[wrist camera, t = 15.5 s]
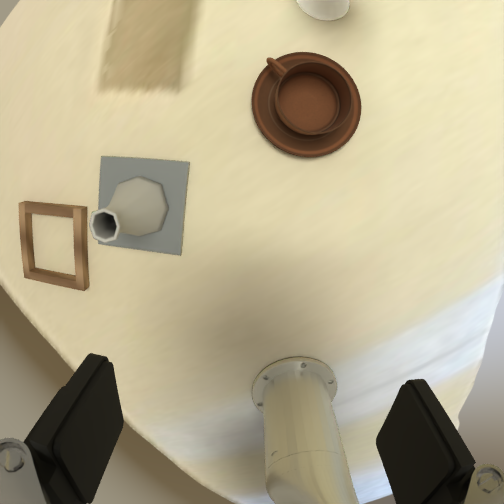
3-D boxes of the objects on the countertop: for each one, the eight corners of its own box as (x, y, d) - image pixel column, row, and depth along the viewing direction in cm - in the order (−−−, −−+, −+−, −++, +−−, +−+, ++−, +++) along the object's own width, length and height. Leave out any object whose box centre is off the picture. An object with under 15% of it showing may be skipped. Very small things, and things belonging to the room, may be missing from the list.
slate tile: (181, 253, 38) (180, 255, 38) (100, 242, 38) (98, 243, 37) (189, 161, 35) (188, 162, 34) (103, 155, 34) (101, 156, 34)
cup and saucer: (234, 128, 34) (230, 124, 28) (278, 40, 31) (283, 21, 25) (329, 174, 35) (344, 179, 30) (371, 87, 32) (391, 78, 26)
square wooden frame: (89, 286, 40) (84, 291, 38) (30, 273, 39) (24, 277, 38) (87, 206, 36) (81, 209, 35) (25, 201, 36) (18, 203, 34)
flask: (168, 237, 37) (141, 267, 27) (113, 234, 37) (74, 261, 27) (170, 176, 35) (140, 186, 25) (112, 175, 35) (69, 185, 25)
